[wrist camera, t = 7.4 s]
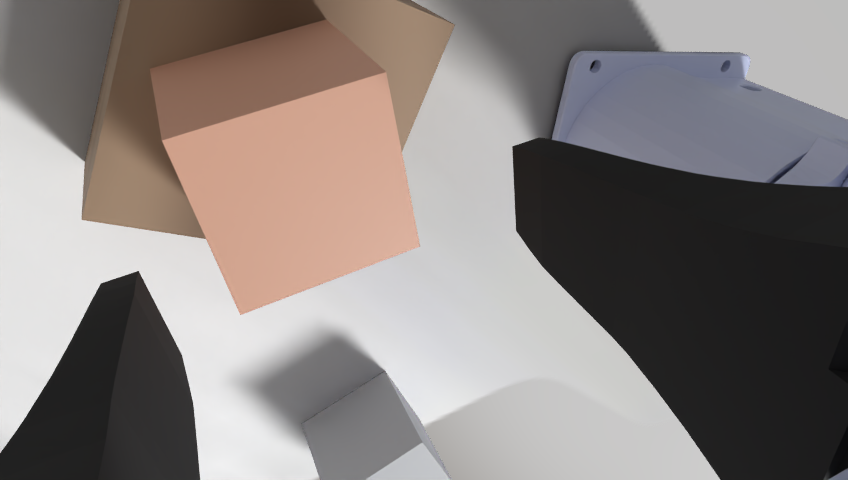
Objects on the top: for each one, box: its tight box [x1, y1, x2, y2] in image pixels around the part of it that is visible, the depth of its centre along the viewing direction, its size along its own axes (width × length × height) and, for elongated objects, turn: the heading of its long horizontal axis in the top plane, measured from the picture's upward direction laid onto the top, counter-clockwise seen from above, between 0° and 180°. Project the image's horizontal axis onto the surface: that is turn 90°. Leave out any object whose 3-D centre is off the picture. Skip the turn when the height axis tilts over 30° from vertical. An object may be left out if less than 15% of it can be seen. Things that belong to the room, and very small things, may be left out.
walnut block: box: [82, 0, 455, 239], centre depth 18 cm, size 8×8×4 cm
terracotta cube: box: [150, 19, 420, 315], centre depth 15 cm, size 4×4×4 cm
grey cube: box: [302, 371, 452, 480], centre depth 29 cm, size 4×4×4 cm
